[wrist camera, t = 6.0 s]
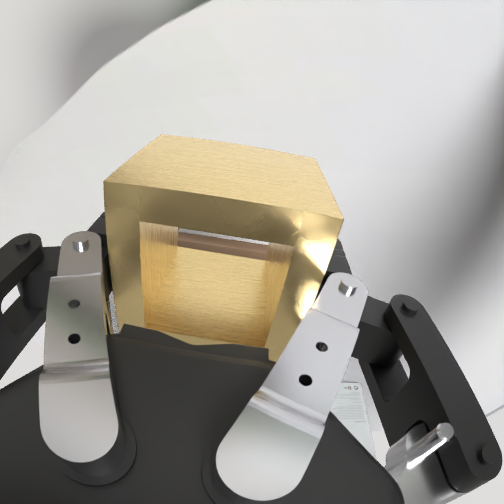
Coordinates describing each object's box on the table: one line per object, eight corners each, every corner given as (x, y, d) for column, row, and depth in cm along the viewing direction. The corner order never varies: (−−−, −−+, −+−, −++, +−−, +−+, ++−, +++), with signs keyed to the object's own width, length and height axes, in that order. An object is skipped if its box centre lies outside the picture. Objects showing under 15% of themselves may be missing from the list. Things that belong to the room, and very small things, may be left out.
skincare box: (321, 378, 36) (334, 490, 24) (363, 381, 37) (384, 485, 24) (299, 410, 41) (304, 506, 28) (337, 412, 41) (348, 503, 29)
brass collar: (161, 134, 11) (102, 180, 7) (315, 158, 12) (343, 219, 8) (156, 260, 15) (121, 340, 10) (282, 281, 15) (286, 367, 11)
